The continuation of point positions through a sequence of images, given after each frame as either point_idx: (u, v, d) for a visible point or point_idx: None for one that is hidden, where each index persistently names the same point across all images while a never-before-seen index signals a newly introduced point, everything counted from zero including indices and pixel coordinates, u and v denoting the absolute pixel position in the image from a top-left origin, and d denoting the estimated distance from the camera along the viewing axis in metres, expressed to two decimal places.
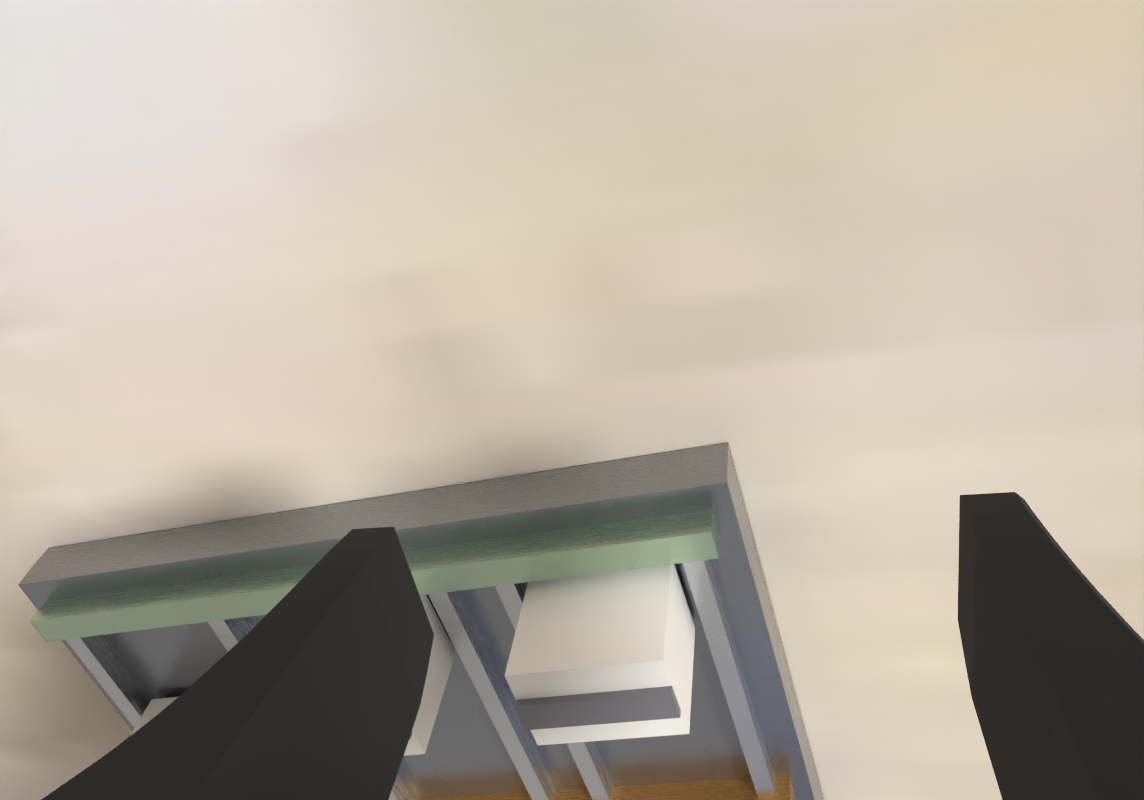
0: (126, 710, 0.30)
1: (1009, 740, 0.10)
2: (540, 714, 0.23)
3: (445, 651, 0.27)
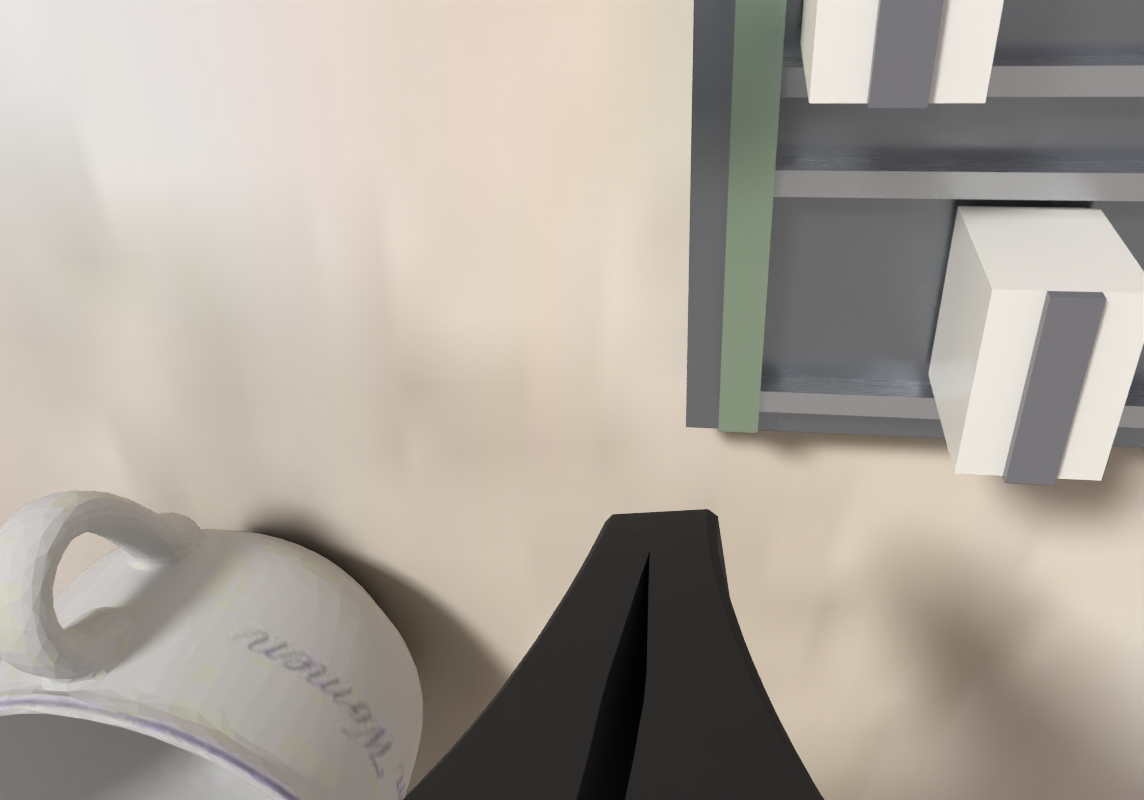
0: (923, 411, 0.20)
1: None
2: None
3: None
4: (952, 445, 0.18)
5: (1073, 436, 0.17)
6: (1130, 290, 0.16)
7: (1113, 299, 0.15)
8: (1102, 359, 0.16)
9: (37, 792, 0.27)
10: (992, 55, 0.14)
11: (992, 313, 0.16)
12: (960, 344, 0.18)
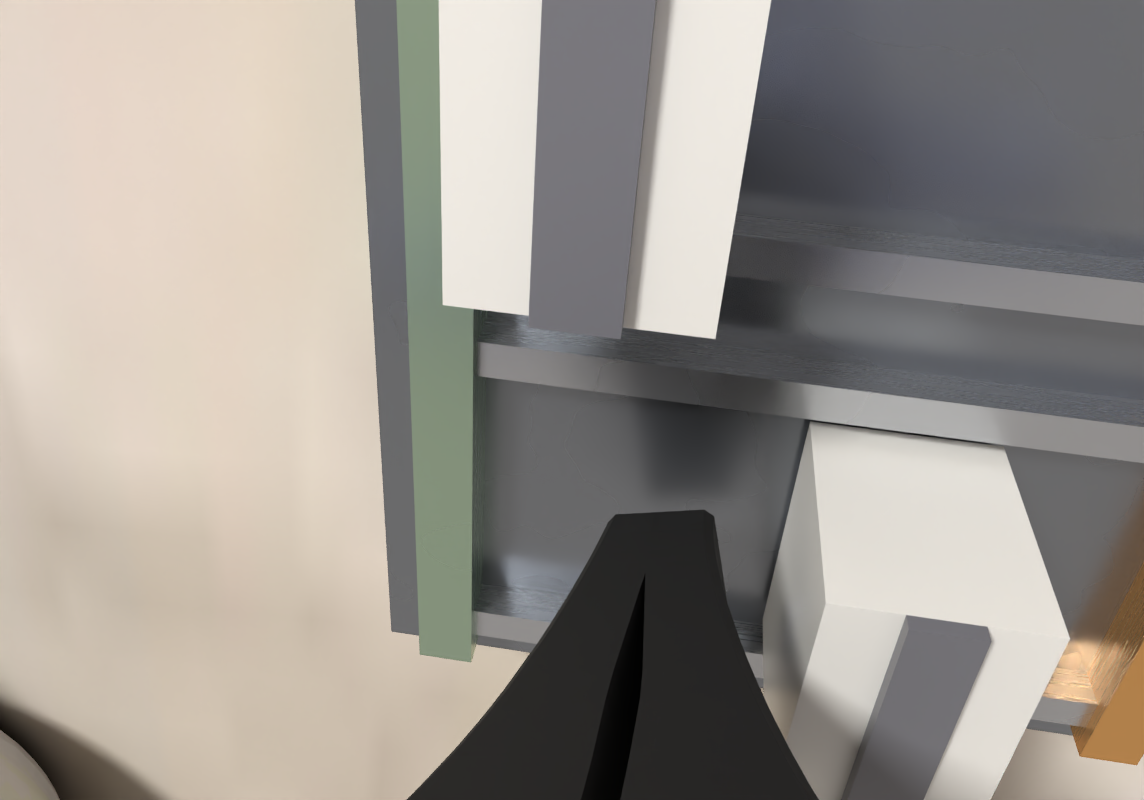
0: None
1: None
2: None
3: None
4: None
5: (933, 792, 0.12)
6: (1029, 624, 0.10)
7: (1002, 638, 0.10)
8: (980, 708, 0.11)
9: None
10: (726, 267, 0.09)
11: (825, 633, 0.11)
12: (790, 630, 0.12)
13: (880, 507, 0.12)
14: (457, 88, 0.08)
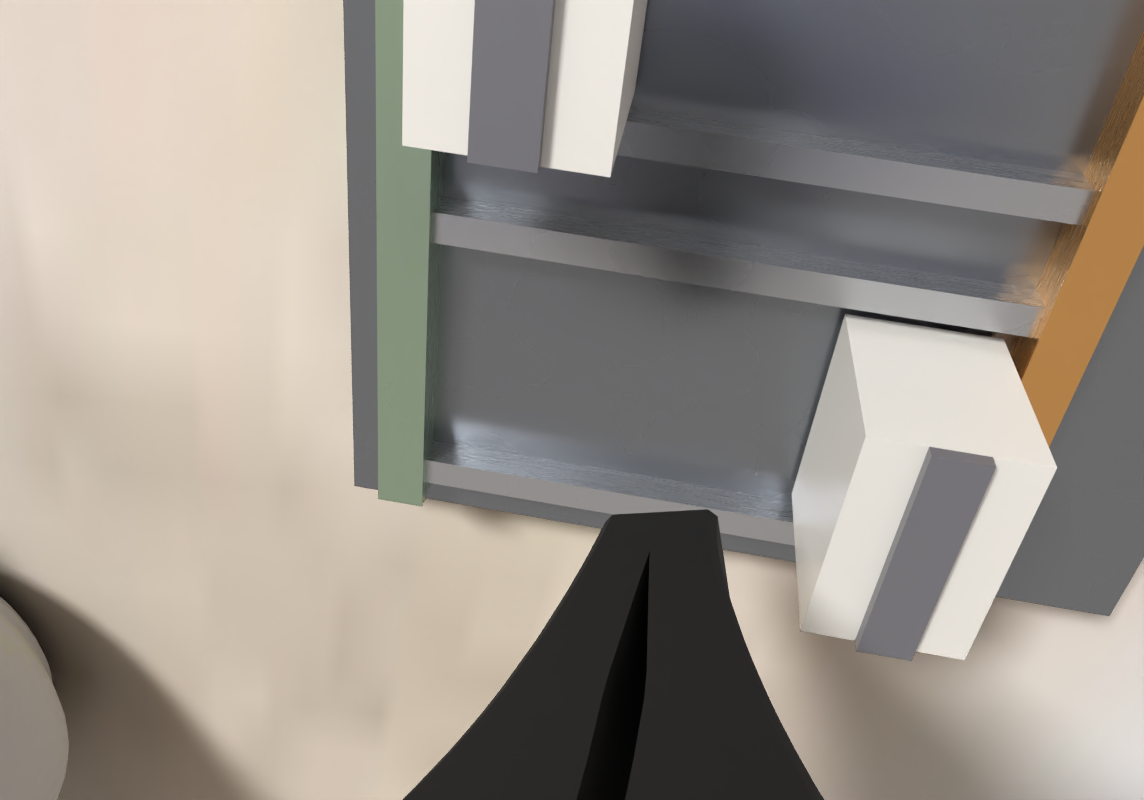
0: (606, 505, 0.18)
1: None
2: None
3: None
4: (802, 596, 0.15)
5: (940, 609, 0.14)
6: (1025, 457, 0.13)
7: (1004, 466, 0.13)
8: (983, 530, 0.13)
9: None
10: (618, 119, 0.11)
11: (864, 462, 0.13)
12: (826, 480, 0.15)
13: (905, 375, 0.14)
14: None
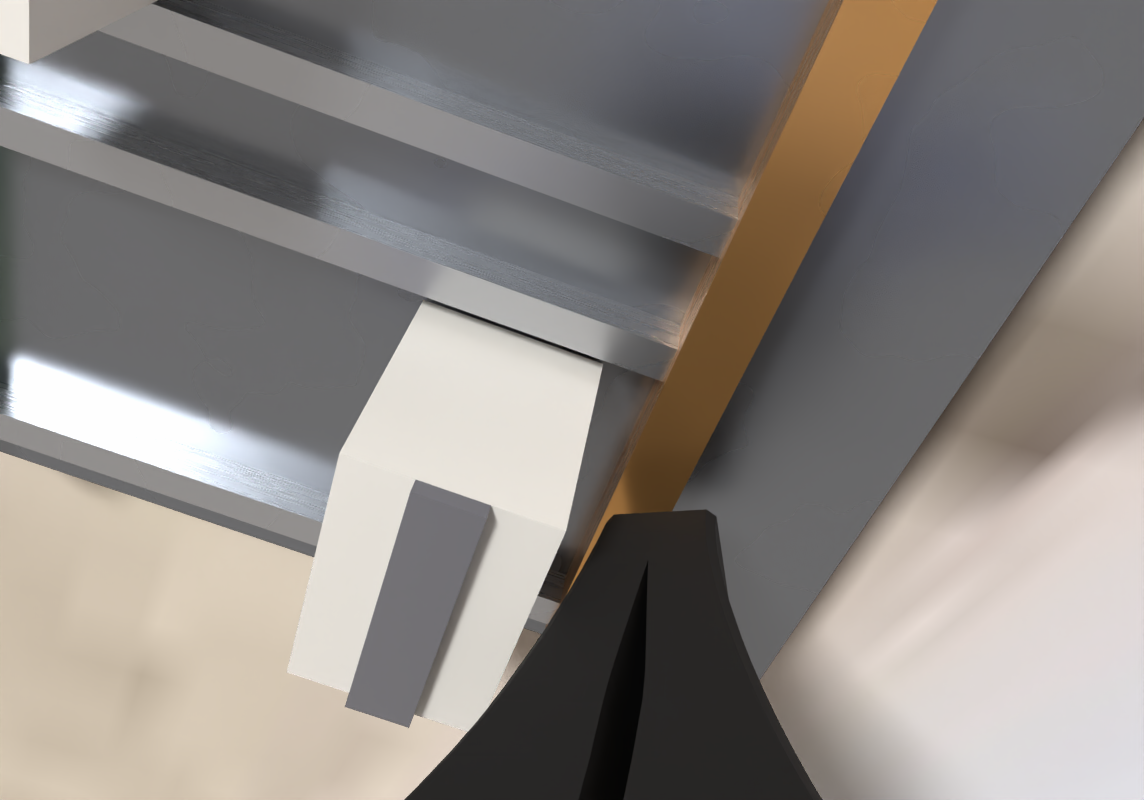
0: (177, 489, 0.15)
1: None
2: None
3: None
4: None
5: (444, 673, 0.12)
6: (535, 512, 0.10)
7: (504, 519, 0.10)
8: (486, 591, 0.11)
9: None
10: None
11: (339, 485, 0.10)
12: None
13: (448, 386, 0.12)
14: None
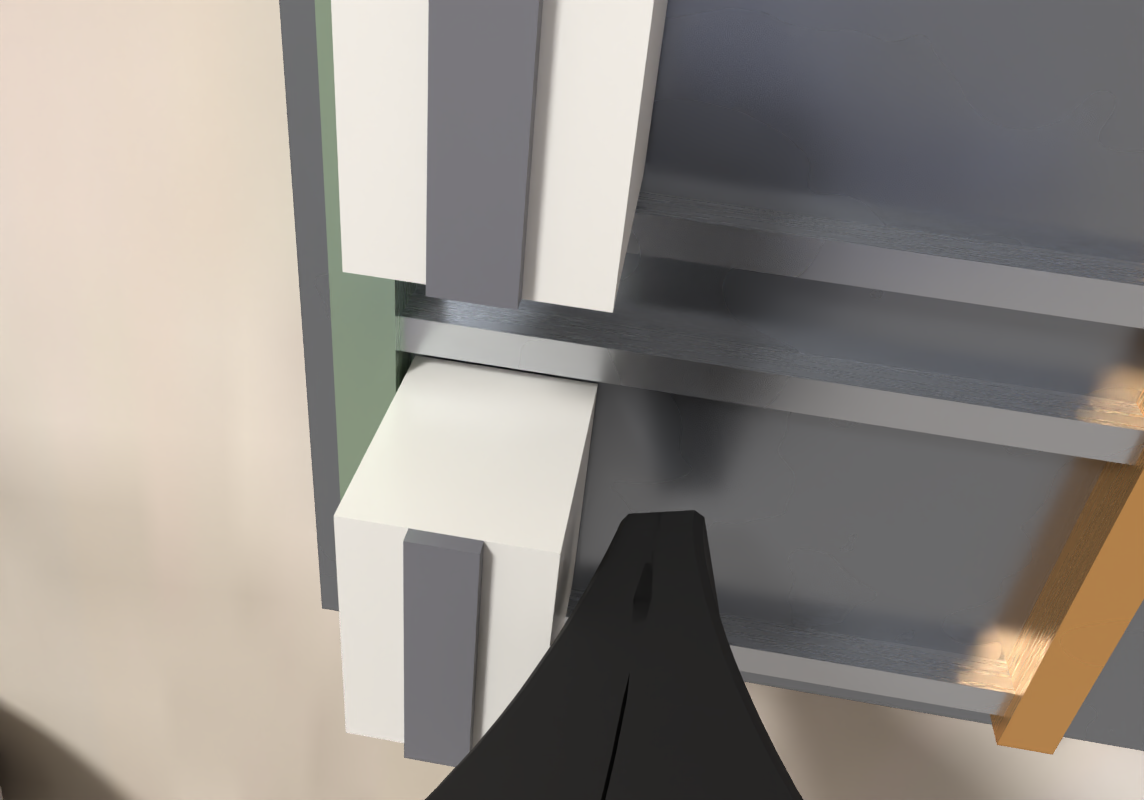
0: None
1: None
2: None
3: None
4: None
5: (488, 710, 0.12)
6: (529, 540, 0.11)
7: (500, 552, 0.11)
8: (504, 624, 0.11)
9: None
10: (623, 241, 0.09)
11: (342, 545, 0.11)
12: None
13: (440, 433, 0.12)
14: (351, 53, 0.08)
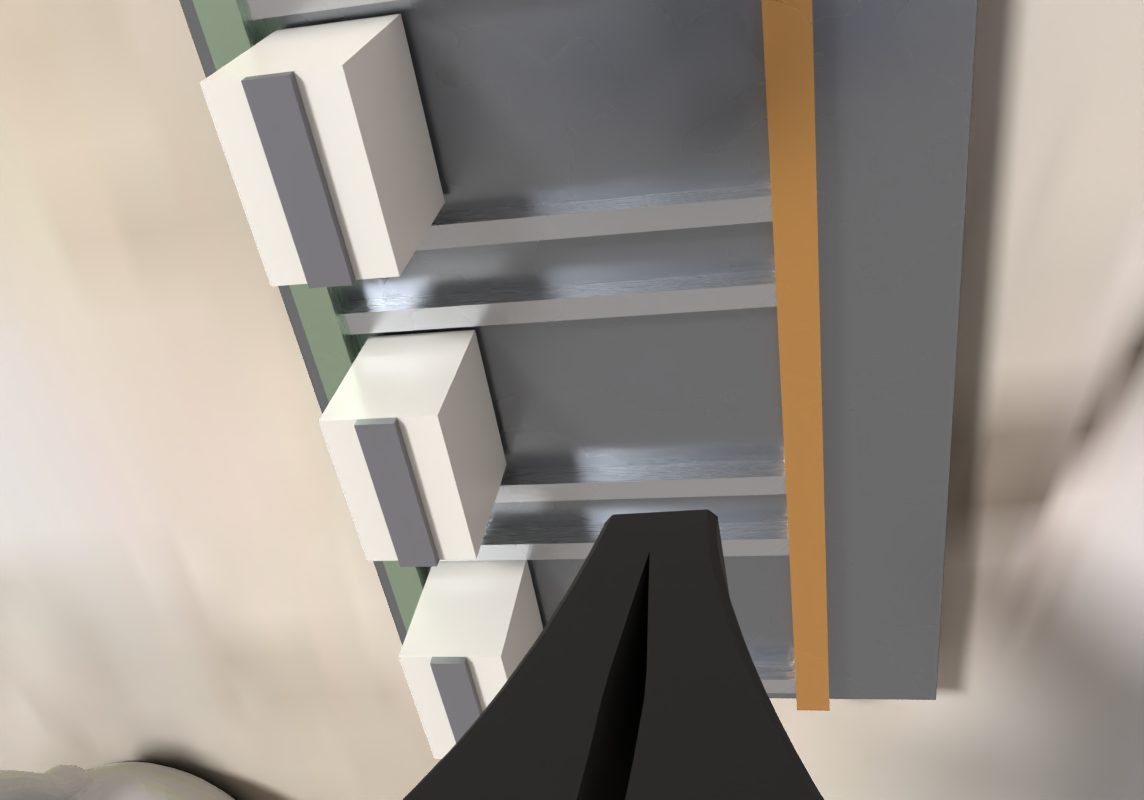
0: None
1: None
2: (316, 260, 0.17)
3: (448, 340, 0.21)
4: None
5: None
6: (487, 652, 0.23)
7: (474, 660, 0.23)
8: (488, 692, 0.23)
9: None
10: (471, 531, 0.21)
11: (406, 669, 0.23)
12: None
13: (446, 603, 0.24)
14: (348, 489, 0.20)
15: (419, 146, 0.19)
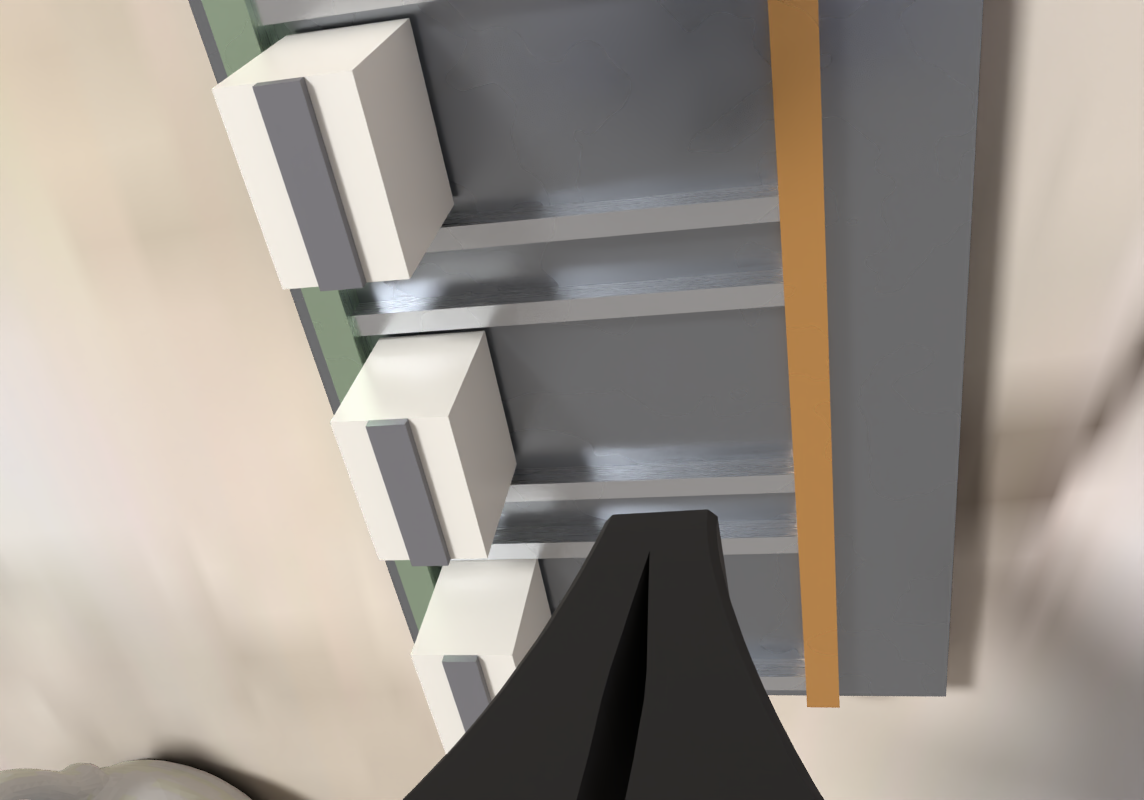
0: None
1: None
2: (327, 263, 0.17)
3: (459, 341, 0.22)
4: None
5: None
6: (498, 651, 0.23)
7: (486, 659, 0.23)
8: None
9: None
10: (482, 531, 0.21)
11: (417, 667, 0.23)
12: None
13: (457, 602, 0.24)
14: (360, 489, 0.21)
15: (428, 149, 0.19)
